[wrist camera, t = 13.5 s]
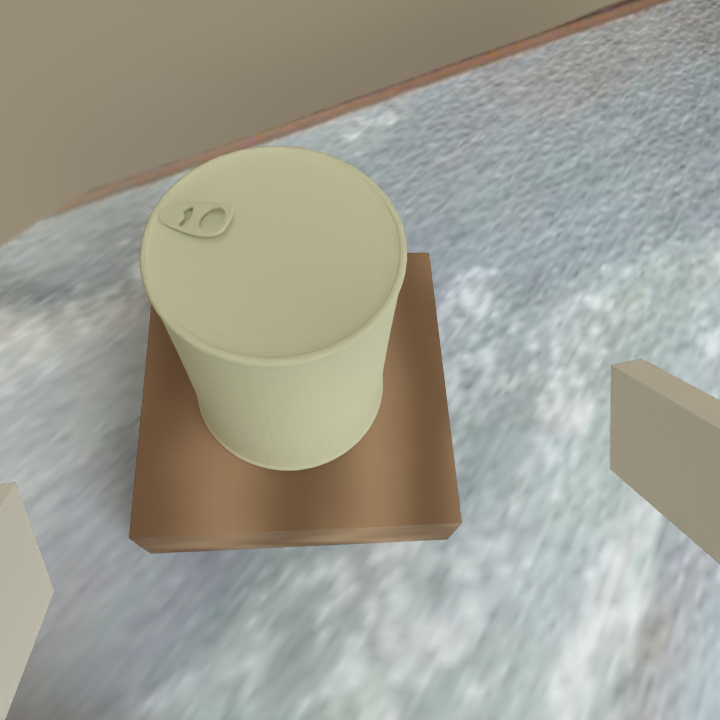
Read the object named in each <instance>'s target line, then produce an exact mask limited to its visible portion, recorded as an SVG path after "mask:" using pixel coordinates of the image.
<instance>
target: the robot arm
mask: <svg viewBox="0 0 720 720" xmlns="http://www.w3.org/2000/svg"><path fill="white" fill-rule="evenodd" d="M610 469H611V470H612V471H613V472H614V473H615V474H616V475H618V476H619V477H620V478H621V479H622V480H623V481H625V482H626V483H627V484H628V485H629V486H630V487H631V488H633V489H634V490H635V491H636V492H637V493H638V494H640V495H641V496H642V497H643V498H644V499H645V500H646V501H648V502H649V503H650V504H651V505H652V506H653V507H655V508H656V509H657V510H658V511H659V512H660V513H661V514H663V515H664V516H665V517H666V518H667V519H668V520H670V521H671V522H672V523H673V524H674V525H675V526H676V527H678V528H679V529H680V530H681V531H682V532H683V533H685V534H686V535H687V536H688V537H689V538H690V539H692V540H693V541H694V542H695V543H696V544H697V545H698V546H700V547H701V548H702V549H703V550H704V551H705V552H707V553H708V554H709V555H710V556H711V557H712V558H713V559H715V560H716V561H717V562H718V563H719V564H720V400H718V399H716V398H714V397H712V396H711V395H709V394H707V393H705V392H703V391H701V390H699V389H697V388H696V387H694V386H692V385H690V384H688V383H686V382H684V381H682V380H681V379H679V378H677V377H675V376H673V375H671V374H669V373H667V372H666V371H664V370H662V369H660V368H658V367H656V366H654V365H652V364H651V363H649V362H647V361H645V360H643V359H637V360H632V361H627V362H622V363H617V364H611V429H610ZM53 594H54V589H53V587H52V584H51V581H50V578H49V575H48V572H47V570H46V567H45V564H44V561H43V558H42V555H41V553H40V550H39V547H38V544H37V541H36V538H35V536H34V533H33V530H32V527H31V524H30V521H29V519H28V516H27V513H26V510H25V507H24V504H23V502H22V499H21V496H20V493H19V490H18V487H17V485H16V482H13V483H8V484H3V485H0V720H5V719H6V717H7V714H8V711H9V709H10V706H11V703H12V701H13V698H14V696H15V693H16V690H17V688H18V685H19V683H20V680H21V677H22V675H23V672H24V670H25V667H26V664H27V662H28V659H29V657H30V654H31V651H32V649H33V646H34V643H35V641H36V638H37V636H38V633H39V630H40V628H41V625H42V623H43V620H44V617H45V615H46V612H47V610H48V607H49V604H50V602H51V599H52V597H53Z"/></svg>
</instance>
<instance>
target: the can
mask: <svg viewBox="0 0 720 720" xmlns="http://www.w3.org/2000/svg"><path fill="white" fill-rule="evenodd" d="M406 265H407V244H406V237H405V233H404V229H403V225H402V223H401V220H400V217H399V215H398V213H397V211H396V209H395V207H394V206H393V204H392V203H391V201H390V199H389V198H388V197H387V195H386V194H385V193H384V192H383V191H382V189H381V188H380V187H379V186H378V185H377V184H376V183H375V182H374V181H373V180H372V179H370V178H369V177H368V176H367V175H365V174H364V173H362V172H361V171H360V170H358V169H357V168H355V167H353V166H352V165H350V164H348V163H346V162H344V161H342V160H340V159H338V158H335V157H333V156H330V155H327V154H324V153H322V152H318V151H314V150H309V149H304V148H298V147H288V146H264V147H255V148H248V149H243V150H238V151H235V152H231V153H228V154H225V155H222V156H220V157H217V158H215V159H212V160H210V161H207V162H206V163H204V164H202V165H200V166H198V167H197V168H195V169H193V170H192V171H190V172H189V173H187V174H186V175H185V176H183V177H182V178H181V179H180V180H179V181H177V182H176V183H175V184H174V185H173V186H172V187H171V188H170V189H169V190H168V191H167V192H166V194H165V195H164V196H163V197H162V198H161V200H160V201H159V202H158V204H157V205H156V206H155V208H154V210H153V212H152V214H151V216H150V218H149V220H148V222H147V225H146V227H145V230H144V234H143V237H142V242H141V248H140V269H141V275H142V280H143V284H144V287H145V291H146V293H147V295H148V298H149V300H150V302H151V304H152V306H153V307H154V309H155V311H156V312H157V314H158V315H159V316H160V318H161V319H162V321H163V323H164V325H165V327H166V329H167V331H168V334H169V336H170V338H171V340H172V342H173V344H174V346H175V348H176V350H177V352H178V355H179V357H180V359H181V361H182V363H183V365H184V368H185V370H186V372H187V374H188V376H189V379H190V381H191V383H192V385H193V388H194V390H195V392H196V394H197V399H198V404H199V408H200V412H201V415H202V417H203V419H204V422H205V424H206V425H207V427H208V429H209V430H210V432H211V433H212V435H213V436H214V437H215V439H216V440H217V441H218V442H219V443H220V444H221V445H222V446H223V447H224V448H225V449H227V450H228V451H229V452H230V453H232V454H233V455H235V456H236V457H238V458H240V459H242V460H244V461H246V462H248V463H250V464H253V465H256V466H259V467H262V468H267V469H272V470H280V471H296V470H303V469H309V468H313V467H317V466H320V465H323V464H325V463H328V462H330V461H332V460H334V459H336V458H338V457H340V456H341V455H343V454H344V453H346V452H347V451H348V450H350V449H351V448H352V447H353V446H354V445H356V444H357V443H358V442H359V441H360V440H361V439H362V437H363V436H364V435H365V434H366V432H367V431H368V430H369V428H370V427H371V425H372V423H373V421H374V419H375V417H376V415H377V413H378V410H379V407H380V404H381V399H382V393H383V369H384V363H385V357H386V352H387V346H388V341H389V336H390V331H391V327H392V322H393V317H394V312H395V308H396V303H397V298H398V294H399V292H400V289H401V287H402V283H403V280H404V276H405V272H406Z"/></svg>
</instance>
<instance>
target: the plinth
mask: <svg viewBox="0 0 720 720" xmlns="http://www.w3.org/2000/svg"><path fill="white" fill-rule="evenodd" d="M461 523H462V521H461V513H460V505H459V496H458V488H457V480H456V472H455V463H454V455H453V447H452V439H451V430H450V422H449V414H448V406H447V397H446V389H445V381H444V373H443V364H442V356H441V348H440V340H439V331H438V323H437V315H436V307H435V298H434V290H433V282H432V274H431V265H430V257H429V253H407V265H406V272H405V276H404V280H403V283H402V287H401V289H400V292H399V294H398V298H397V303H396V308H395V312H394V317H393V322H392V327H391V331H390V336H389V341H388V346H387V352H386V357H385V363H384V369H383V393H382V399H381V404H380V407H379V410H378V413H377V415H376V417H375V419H374V421H373V423H372V425H371V427H370V428H369V430H368V431H367V432H366V434H365V435H364V436H363V437H362V439H361V440H360V441H359V442H358V443H357V444H356V445H354V446H353V447H352V448H351V449H350V450H348V451H347V452H346V453H344V454H343V455H341V456H340V457H338V458H336V459H334V460H332V461H330V462H328V463H325V464H323V465H320V466H317V467H313V468H309V469H303V470H296V471H280V470H272V469H267V468H262V467H259V466H256V465H253V464H250V463H248V462H246V461H244V460H242V459H240V458H238V457H236V456H235V455H233V454H232V453H230V452H229V451H228V450H227V449H225V448H224V447H223V446H222V445H221V444H220V443H219V442H218V441H217V440H216V439H215V437H214V436H213V435H212V433H211V432H210V430H209V429H208V427H207V425H206V424H205V422H204V419H203V417H202V415H201V412H200V408H199V404H198V399H197V394H196V392H195V390H194V388H193V385H192V383H191V381H190V379H189V376H188V374H187V372H186V370H185V368H184V365H183V363H182V361H181V359H180V357H179V355H178V352H177V350H176V348H175V346H174V344H173V342H172V340H171V338H170V336H169V334H168V331H167V329H166V327H165V325H164V323H163V321H162V319H161V318H160V316H159V315H158V314H157V312H156V311H155V309H154V307H153V306H151V316H150V326H149V337H148V347H147V357H146V368H145V378H144V388H143V399H142V409H141V419H140V430H139V440H138V450H137V461H136V471H135V481H134V492H133V502H132V512H131V523H130V533H129V539H131V540H132V541H134V542H135V543H136V544H138V545H139V546H141V547H142V548H144V549H145V550H147V551H148V552H149V553H170V552H191V551H212V550H233V549H254V548H275V547H295V546H316V545H337V544H358V543H379V542H400V541H421V540H442V539H448V538H449V537H450V536H451V534H452V533H453V532H454V531H455V530H456V529H457V528H458V527H459V525H460V524H461Z"/></svg>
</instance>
